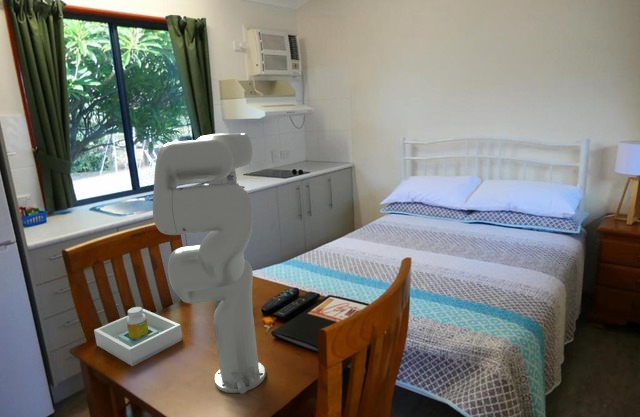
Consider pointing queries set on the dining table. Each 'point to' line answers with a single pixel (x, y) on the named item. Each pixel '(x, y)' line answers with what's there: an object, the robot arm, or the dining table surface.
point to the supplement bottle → (137, 323)
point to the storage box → (134, 352)
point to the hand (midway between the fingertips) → (229, 237)
